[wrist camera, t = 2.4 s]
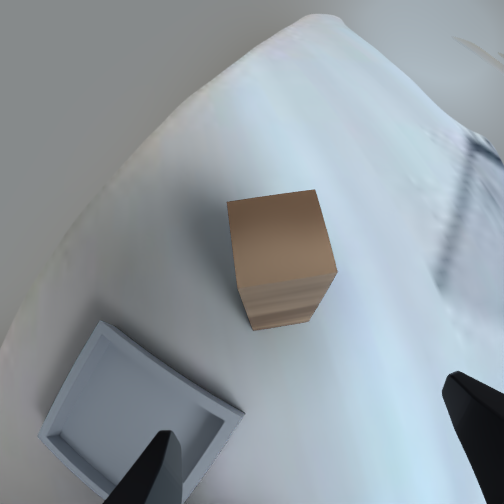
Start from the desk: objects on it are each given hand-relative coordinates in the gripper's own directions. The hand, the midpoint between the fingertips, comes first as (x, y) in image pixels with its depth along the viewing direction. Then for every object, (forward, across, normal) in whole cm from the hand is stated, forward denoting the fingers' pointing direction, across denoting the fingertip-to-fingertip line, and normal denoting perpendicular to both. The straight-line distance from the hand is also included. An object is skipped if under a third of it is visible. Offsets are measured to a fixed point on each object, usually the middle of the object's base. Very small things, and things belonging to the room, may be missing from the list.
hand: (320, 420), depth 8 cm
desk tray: (+8, +12, +11) cm, 18 cm away
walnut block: (+15, 0, +4) cm, 16 cm away
